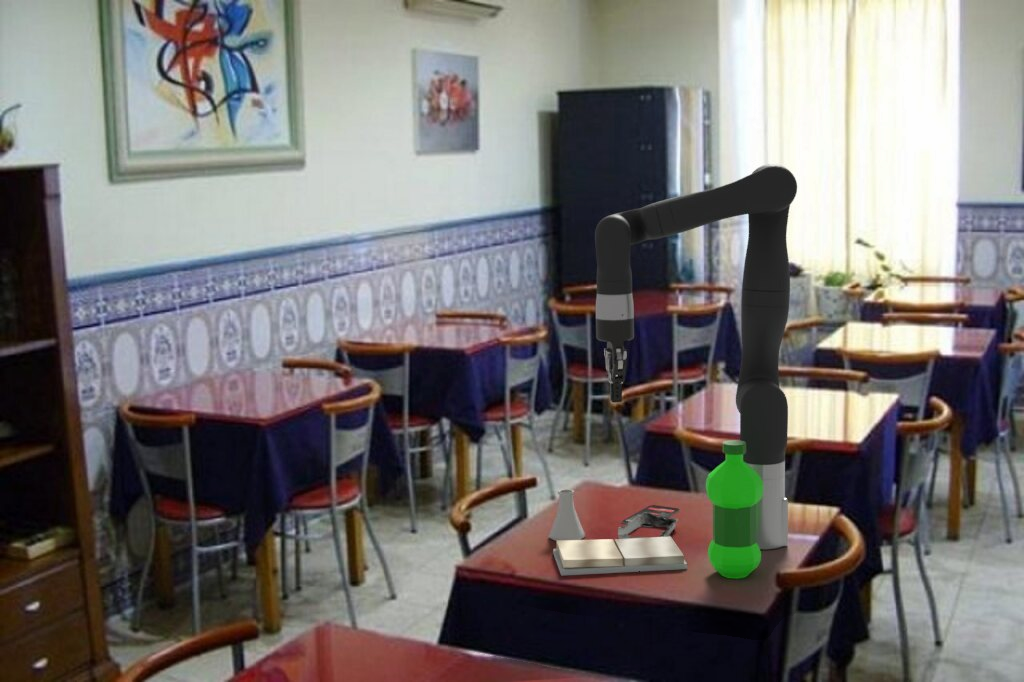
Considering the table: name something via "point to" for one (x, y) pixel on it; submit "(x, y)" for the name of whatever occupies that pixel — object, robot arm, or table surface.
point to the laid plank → (649, 551)
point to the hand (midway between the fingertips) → (616, 401)
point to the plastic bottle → (734, 513)
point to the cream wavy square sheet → (589, 553)
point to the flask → (566, 519)
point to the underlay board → (614, 568)
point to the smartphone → (656, 510)
